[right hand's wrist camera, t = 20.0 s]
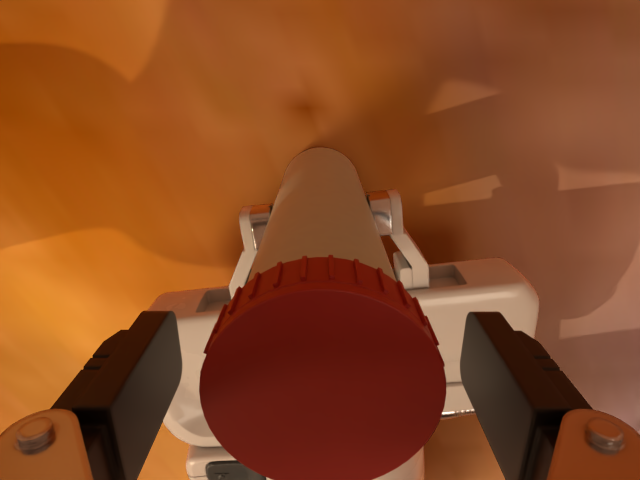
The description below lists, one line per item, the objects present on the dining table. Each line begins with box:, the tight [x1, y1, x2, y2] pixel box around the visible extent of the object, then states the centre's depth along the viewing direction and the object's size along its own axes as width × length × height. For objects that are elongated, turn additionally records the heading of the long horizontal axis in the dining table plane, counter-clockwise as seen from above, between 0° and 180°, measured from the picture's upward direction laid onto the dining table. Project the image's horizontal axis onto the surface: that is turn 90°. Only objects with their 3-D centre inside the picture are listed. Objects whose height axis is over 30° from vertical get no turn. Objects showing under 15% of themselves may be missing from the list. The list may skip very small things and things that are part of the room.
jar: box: [247, 147, 397, 283], centre depth 19 cm, size 5×5×18 cm
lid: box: [199, 255, 446, 480], centre depth 10 cm, size 6×6×2 cm
